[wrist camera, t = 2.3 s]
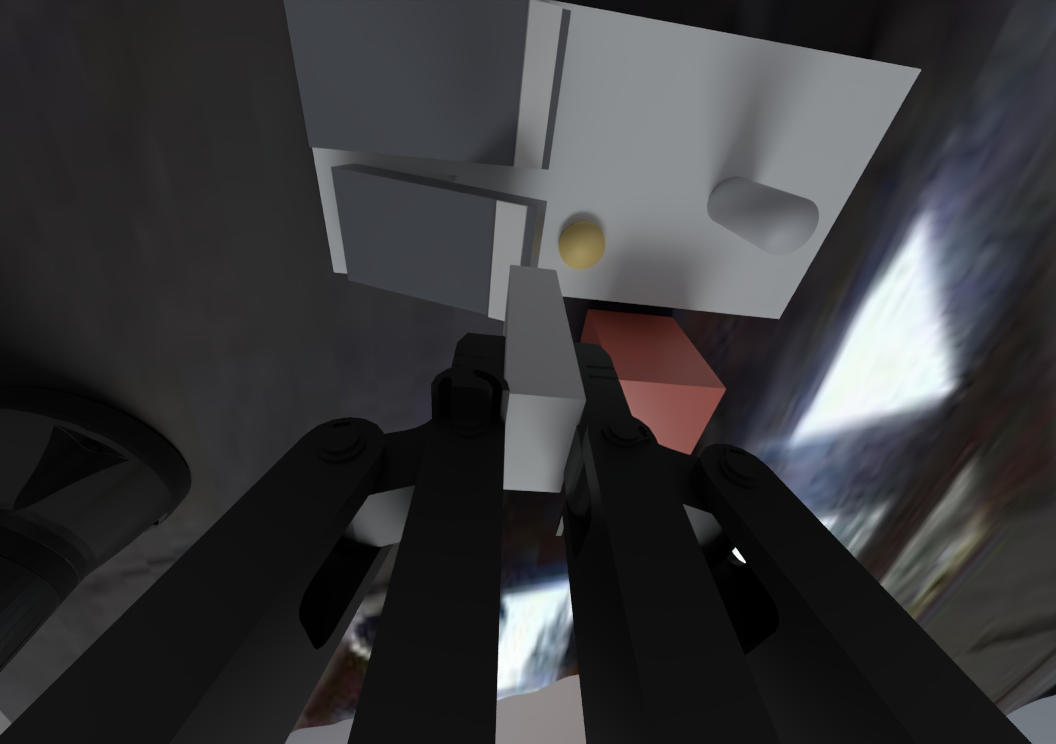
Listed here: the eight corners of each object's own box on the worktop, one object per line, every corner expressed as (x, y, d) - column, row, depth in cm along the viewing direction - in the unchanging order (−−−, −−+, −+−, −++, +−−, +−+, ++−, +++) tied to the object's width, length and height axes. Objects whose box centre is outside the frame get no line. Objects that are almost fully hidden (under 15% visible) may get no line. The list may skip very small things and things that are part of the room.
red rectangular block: (570, 379, 29) (588, 460, 22) (587, 308, 25) (614, 379, 19) (645, 385, 30) (684, 465, 23) (672, 317, 26) (726, 388, 20)
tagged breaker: (368, 270, 20) (346, 281, 18) (355, 163, 17) (328, 167, 16) (531, 310, 19) (521, 325, 17) (547, 201, 16) (536, 208, 14)
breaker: (313, 141, 14) (309, 147, 13) (279, -53, 11) (270, -70, 10) (535, 163, 17) (550, 170, 16) (553, 16, 14) (573, 9, 13)
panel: (352, 253, 23) (289, 314, 16) (313, -28, 16) (176, -118, 9) (753, 298, 25) (836, 365, 19) (867, 73, 19) (1058, 58, 12)
